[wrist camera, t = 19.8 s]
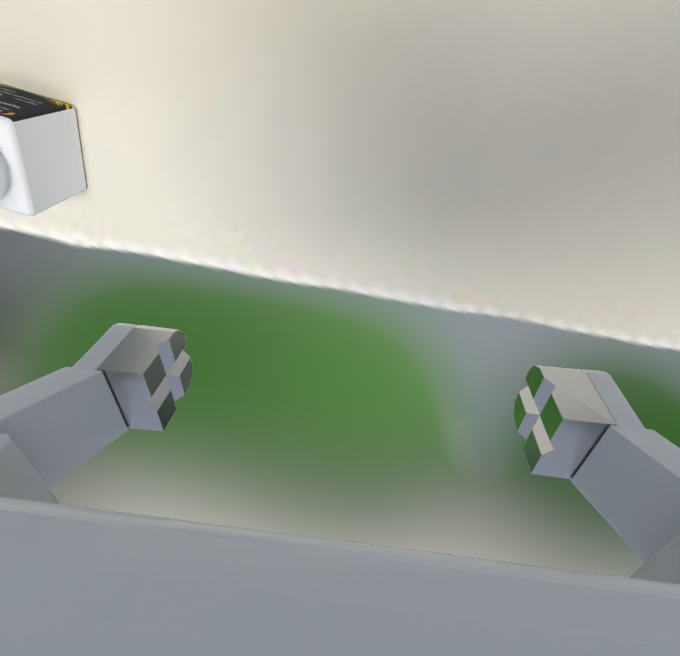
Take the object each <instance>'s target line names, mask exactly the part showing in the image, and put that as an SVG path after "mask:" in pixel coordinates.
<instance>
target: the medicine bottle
mask: <svg viewBox="0 0 680 656" xmlns="http://www.w3.org/2000/svg"><path fill="white" fill-rule="evenodd" d="M85 189H86V181H85V174H84V167H83V160H82V153H81V146H80V139H79V132H78V125H77V118H76V111H75V108H74V107H73V106H72V105H70V104H66V103H63V102H60V101H56V100H53V99H50V98H46V97H43V96H39V95H36V94H33V93H29V92H26V91H23V90H19V89H16V88H13V87H9V86H6V85H3V84H0V208H2V209H6V210H9V211H13V212H17V213H20V214H24V215H27V216H34V215H36V214H38V213H40V212H42V211H44V210H46V209H48V208H50V207H52V206H54V205H56V204H58V203H60V202H62V201H64V200H66V199H68V198H70V197H72V196H74V195H76V194H78V193H80V192H82V191H84V190H85Z"/></svg>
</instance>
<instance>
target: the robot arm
mask: <svg viewBox="0 0 680 656" xmlns="http://www.w3.org/2000/svg"><path fill="white" fill-rule="evenodd" d="M186 344H187V342H186V339H185V335H184V333H183V332H182V331H180V330H176V329H167V328H160V327H152V326H143V325H132V324H124V323H118V324H115V325H113V326H112V327H111V328H110V329H109V330H108V331H107V332H106V333H105V334H104V335H103V336H102V337H101V338H100V339H99V340H98V341H97V343H95V344H94V345H93V346H92V348H91V349H90V350H89V351H88V352H87V353H86V354H85V355H84V356H83V357H82V358H81V359H80V360H79V361H78V362H77V363H76V364H75V365H74V366H73V367H72V368H71V367H64V368H62V369H60V370H57V371H55V372H53V373H51V374H48V375H46V376H44V377H42V378H39V379H37V380H35V381H32V382H30V383H28V384H26V385H23V386H21V387H19V388H17V389H15V390H12V391H10V392H8V393H6V394H3V395H1V396H0V656H680V448H678V447H677V446H676V445H674V444H673V443H671V442H670V441H668V440H667V439H665V438H664V437H662V436H661V435H660V434H658V433H657V432H655V431H654V430H648V429H645V428H644V426H643V425H642V423H641V422H640V420H639V419H638V417H637V416H636V414H635V413H634V411H633V410H632V408H631V406H630V405H629V403H628V402H627V400H626V399H625V397H624V396H623V394H622V393H621V391H620V390H619V388H618V386H617V385H616V383H615V382H614V381H613V379H612V377H611V376H610V375H609V374H608V373H606V372H605V371H596V370H583V369H580V370H577V369H566V368H556V367H545V366H535V365H534V366H533V367H532V368H531V369H530V370H529V371H528V373H527V376H526V381H527V384H528V386H527V387H526V388H524V389H523V390H521V391H520V392H519V393H518V395H517V398H516V400H515V405H514V421H515V425H516V429H517V432H519V433H520V434H521V435H522V436H523V437H524V438H525V439H526V442H525V444H524V446H523V451H524V454H525V457H526V460H527V463H528V466H529V469H530V472H531V474H537V475H544V476H551V477H559V478H565V479H572V480H571V482H572V483H573V484H574V485H575V487H576V488H577V489H578V490H579V491H580V492H581V493H582V494H583V495H584V496H585V498H586V499H587V500H588V501H589V502H590V503H591V504H592V505H593V506H594V508H595V509H596V510H597V511H598V512H599V513H600V514H601V515H602V516H603V517H604V519H605V520H606V521H607V522H608V523H609V524H610V525H611V526H612V527H613V529H615V531H616V532H617V533H618V534H619V535H620V536H621V537H622V538H623V540H624V541H625V542H626V543H627V544H628V545H629V546H630V547H631V548H632V550H633V551H634V552H635V553H636V554H637V555H638V556H639V557H640V558H641V560H643V562H644V563H645V564H644V565H642V566H641V567H640V568H639V569H638V570H637V571H635V572H634V573H633V574H632V575H631V576H630V577H622V576H614V575H606V574H598V573H591V572H583V571H574V570H568V569H559V568H551V567H544V566H536V565H529V564H521V563H513V562H505V561H498V560H490V559H482V558H474V557H466V556H459V555H450V554H443V553H435V552H428V551H420V550H412V549H405V548H397V547H389V546H381V545H374V544H366V543H358V542H350V541H342V540H334V539H327V538H319V537H311V536H303V535H295V534H288V533H279V532H272V531H264V530H256V529H248V528H240V527H233V526H225V525H217V524H209V523H201V522H193V521H186V520H177V519H171V518H163V517H155V516H147V515H139V514H132V513H124V512H116V511H108V510H101V509H100V510H99V509H93V508H85V507H76V506H70V505H62V504H60V503H59V501H58V500H57V498H56V497H55V496H54V494H53V493H52V492H51V490H50V489H49V488H50V487H52V486H53V485H54V484H56V483H57V482H58V481H60V480H61V479H62V478H64V477H65V476H67V475H68V474H69V473H71V472H72V471H73V470H75V469H76V468H77V467H79V466H80V465H81V464H83V463H84V462H85V461H87V460H88V459H89V458H91V457H92V456H94V455H95V454H96V453H98V452H99V451H100V450H102V449H103V448H104V447H106V446H107V445H108V444H110V443H111V442H113V441H114V440H115V439H117V438H118V437H119V436H121V435H122V434H123V433H125V432H126V431H127V430H128V428H134V429H146V430H156V431H164V430H165V428H166V427H167V425H168V423H169V421H170V420H171V418H172V416H173V414H174V413H175V411H176V405H175V402H174V401H176V400H177V399H179V398H181V397H182V396H184V395H185V393H186V392H187V390H188V388H189V386H190V382H191V378H192V362H191V358H190V357H189V356H188V355H187V354H186V353H185V352H184V351H183V349H184V347H185V346H186Z"/></svg>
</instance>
